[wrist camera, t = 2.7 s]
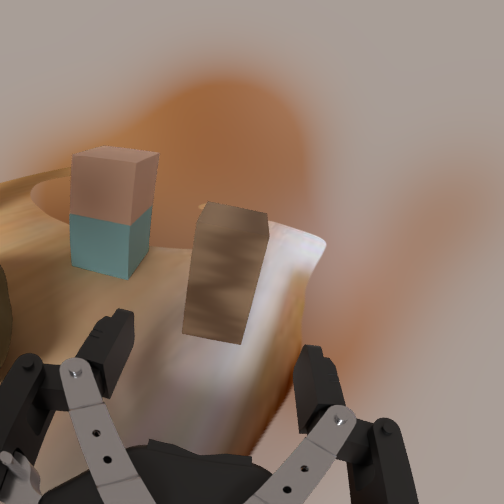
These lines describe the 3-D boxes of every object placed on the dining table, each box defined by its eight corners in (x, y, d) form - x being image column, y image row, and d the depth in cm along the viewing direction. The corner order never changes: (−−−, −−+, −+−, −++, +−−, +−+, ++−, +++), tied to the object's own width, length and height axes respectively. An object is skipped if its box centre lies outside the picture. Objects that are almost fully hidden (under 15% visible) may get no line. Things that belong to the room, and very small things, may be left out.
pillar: (182, 333, 25) (196, 221, 20) (192, 300, 29) (207, 201, 25) (240, 344, 25) (269, 236, 21) (242, 310, 29) (267, 213, 25)
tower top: (70, 213, 26) (72, 154, 24) (100, 194, 33) (104, 145, 30) (130, 225, 27) (136, 162, 24) (152, 204, 33) (159, 152, 31)
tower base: (71, 265, 29) (69, 213, 26) (98, 240, 35) (99, 195, 33) (128, 280, 29) (129, 226, 27) (148, 251, 36) (152, 204, 33)
